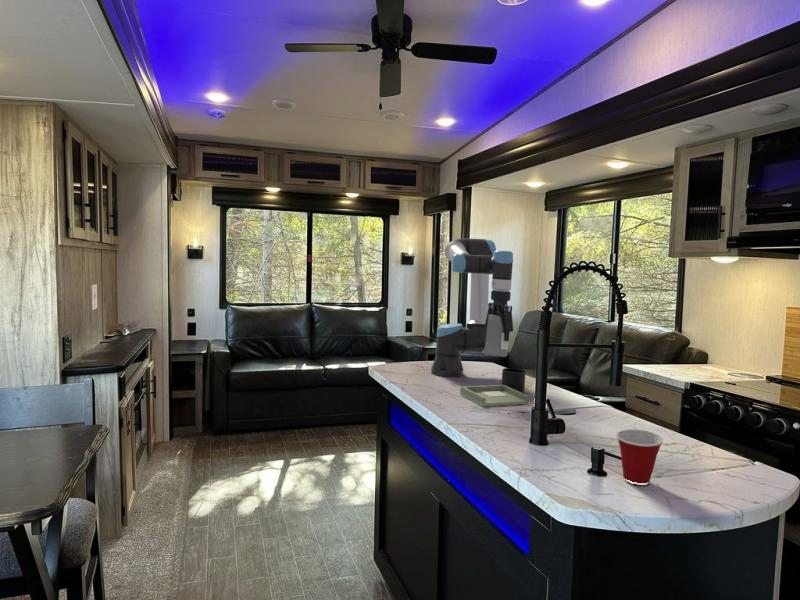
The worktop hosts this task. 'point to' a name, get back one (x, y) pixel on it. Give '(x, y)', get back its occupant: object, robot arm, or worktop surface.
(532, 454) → the worktop surface
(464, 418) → the worktop surface
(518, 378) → the mug
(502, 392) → the sage green tray
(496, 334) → the skincare box
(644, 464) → the plastic cup
